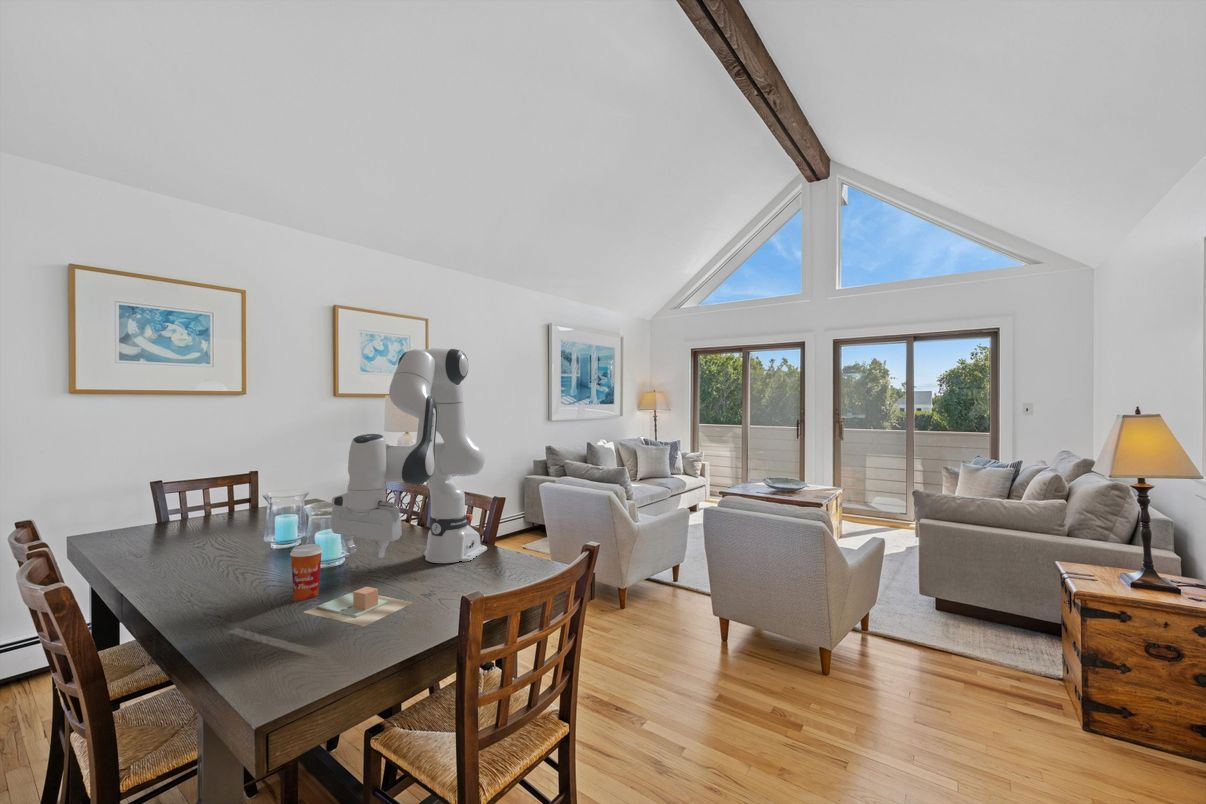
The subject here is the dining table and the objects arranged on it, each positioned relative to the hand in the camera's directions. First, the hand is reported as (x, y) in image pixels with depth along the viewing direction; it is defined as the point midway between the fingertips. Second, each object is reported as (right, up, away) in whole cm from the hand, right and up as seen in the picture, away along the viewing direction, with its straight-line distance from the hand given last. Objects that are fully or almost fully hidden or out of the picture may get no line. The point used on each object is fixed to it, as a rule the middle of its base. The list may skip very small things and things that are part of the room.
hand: (365, 555), depth 131 cm
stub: (0, -14, 0) cm, 14 cm away
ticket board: (-2, -15, +1) cm, 15 cm away
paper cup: (-19, -15, +8) cm, 26 cm away
